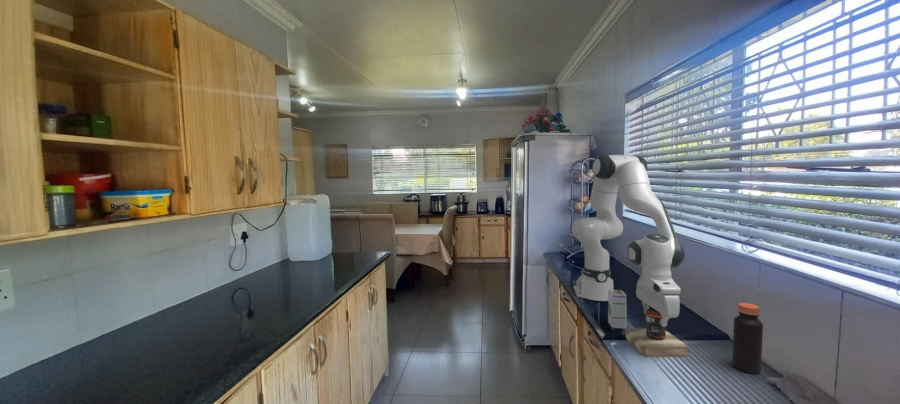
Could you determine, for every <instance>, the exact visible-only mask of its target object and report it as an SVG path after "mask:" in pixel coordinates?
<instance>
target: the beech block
mask: <svg viewBox="0 0 900 404" xmlns="http://www.w3.org/2000/svg"><path fill="white" fill-rule="evenodd" d="M624 331H625V335H624V336H625V337H626V338H625V339H626V340H627V341H628V342H629V343H630V344H631V345H632V346H634V347H635V348H636V349H637V350H638V351H639V352H640V353H641V354H642V355H643V356H644V357H645V358H689V356H690V355H689V354H690V353H689V352H690V351H689V350H690V347H689V346H688V345H687V344H686V343H684V342H683V341H681V340H680V339H679V338H677V337H676V336H675V335H673V334H671V333H670V332H669V331H667V330H666V329H665V331H666V335H665V338H663V339H656V338H652V337H649V336H648V335H647V334H646V328H626V329H625V330H624Z"/></svg>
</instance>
